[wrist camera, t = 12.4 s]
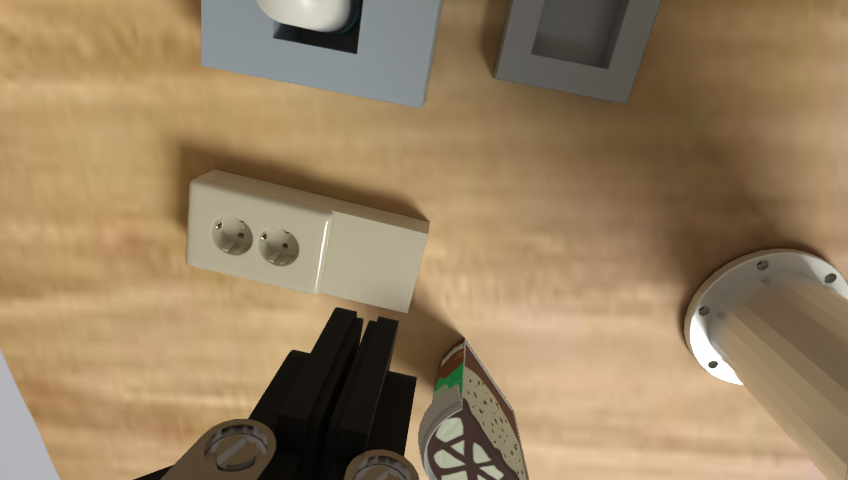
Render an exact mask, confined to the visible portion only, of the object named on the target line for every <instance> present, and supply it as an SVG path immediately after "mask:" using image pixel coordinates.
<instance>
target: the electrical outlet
mask: <svg viewBox="0 0 848 480" xmlns="http://www.w3.org/2000/svg"><path fill="white" fill-rule="evenodd" d="M429 225H430V222H428V221H424V220H420V219H416V218H412V217H408V216H404V215H400V214H395V213H391V212H387V211H383V210H379V209H375V208H371V207H367V206H363V205H359V204H355V203H351V202H347V201H343V200H339V199H335V198H330V197H326V196H322V195H318V194H314V193H310V192H306V191H302V190H298V189H294V188H290V187H286V186H282V185H278V184H274V183H270V182H266V181H261V180H257V179H253V178H249V177H245V176H241V175H237V174H233V173H229V172H225V171H221V170H217V169H214V170H211V171H209V172H207V173H205V174H203V175H201V176H199V177H197V178H195V179H193V180H191V182H190V185H189V205H188V225H187V245H186V263H187V264H188V265H189V266H193V267H197V268H201V269H206V270H210V271H214V272H218V273H222V274H227V275H231V276H235V277H239V278H243V279H248V280H252V281H256V282H260V283H264V284H268V285H273V286H277V287H281V288H285V289H289V290H294V291H298V292H302V293H306V294H310V295H317V294H318V293H323V294H328V295H332V296H336V297H340V298H344V299H349V300H353V301H357V302H361V303H365V304H369V305H374V306H378V307H382V308H386V309H390V310H395V311H399V312H403V313H408V309H409V306H410V302H411V298H412V294H413V290H414V286H415V283H416V279H417V275H418V271H419V267H420V264H421V260H422V256H423V252H424V248H425V245H426V241H427V237H428V232H429Z"/></svg>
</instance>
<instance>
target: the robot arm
mask: <svg viewBox="0 0 848 480" xmlns="http://www.w3.org/2000/svg"><path fill="white" fill-rule="evenodd" d="M398 324H399V321H397V320H392V319H388V318H383V317H378V320H377V322H376V321H371V320H369V322H368V325H367V328H366V330H365V333H364V335H363V338H362V340H361V343H360V338H361V332H362V327H363V319H362V318H357V312H356V311H352V310H347V309H342V308H338V307H336V308H335V310H334V311H333V313H332V315H331V317H330V319H329V320H328V322H327V324H326V326H325V328H324V330H323V331H322V333H321V335H320V337H319V339H318V340H317V342H316V344H315V346H314V348H313V350H312V351H311V353H306V352H301V351H297V350H292V351H291V352H290V353H289V354H288V356H287V357H286V359H285V361H284V362H283V364H282V365H281V367H280V369H279V370H278V372H277V373H276V375H275V377H274V378H273V380H272V381H271V383H270V385H269V386H268V388H267V389H266V391H265V393H264V394H263V396H262V397H261V399H260V401H259V402H258V404H257V405H256V407H255V409H254V410H253V412H252V413H251V415H250V417H249V418H248V419H234V420H230V421H225V422H222V423H220V424H218V425H216V426H214V427H212V428H211V429H210V430H208V431H207V432H206V433H205V434H203V435H202V436H201V437H200V438H199V439H198V441H197V442H196V443H195V444H194V445H193V446H192V447H191V448H190V449H189V450H188V451H187V452H186V453H185V454H184V455H183V456H182V457H181V458H180V459H179V460H178V461H177V462H176V463H175V464H174V465H172V466H169V467H166V468H164V469H161V470H158V471H156V472H153V473H150V474H148V475H145V476H142V477H140V478H137V479H134V480H419V477H418V473H417V471H416V470H415V468H414V466H413V465H412V464H411V463H410V462H409V461H408V460H407V459H406V458H405V457H404V453H405V447H406V441H407V434H408V428H409V422H410V416H411V410H412V404H413V398H414V392H415V386H416V380H417V377H414V376H409V375H405V374H400V373H396V372H391V371H389V368H390V363H391V358H392V353H393V349H394V344H395V339H396V334H397V329H398ZM684 334H685V340H686V344H687V346H688V348H689V350H690V352H691V354H692V355H693V356H694V358H695V359H696V360H697V362H698V363H699V364H700V365H701V366H702V367H703V368H704V369H705V370H706V371H707V372H709V373H710V374H712V375H714V376H715V377H717V378H719V379H722V380H724V381H727V382H730V383H735V384H741V385H744V386H745V387H746V389H747V390H748V391H749V392H750V393H751V394H752V395H753V396H754V398H755V399H756V400H757V401H758V402H759V403H760V404H761V405H762V406H763V408H764V409H765V410H766V411H767V412H768V413H769V414H770V415H771V417H772V418H773V419H774V420H775V421H776V422H777V423H778V424H779V426H780V427H781V428H782V429H783V430H784V431H785V432H786V433H787V434H788V436H789V437H790V438H791V439H792V440H793V441H794V442H795V443H796V445H797V446H798V447H799V448H800V449H801V450H802V451H803V452H804V454H805V455H806V456H807V457H808V458H809V459H810V460H811V461H812V462H813V464H814V465H815V466H816V467H817V468H818V469H819V470H820V471H821V473H822V474H823V475H824V476H825V477H826V478H827V479H828V480H848V283H847V281H846V280H845V278H844V277H843V275H842V274H841V273H840V272H839V271H838V270H837V269H836V268H835V267H834V266H833V265H832V264H830V263H828V262H826V261H825V260H823V259H821V258H819V257H817V256H815V255H812V254H810V253H808V252H805V251H800V250H795V249H768V250H762V251H757V252H754V253H751V254H747V255H744V256H742V257H740V258H738V259H735V260H733V261H731V262H729V263H727V264H726V265H724V266H723V267H722V268H720V269H719V270H717V271H716V272H714V273H713V274H712V275H711V276H710V277H709V278H708V279H707V280H706V281H705V282H704V283H703V284H702V285H701V287H700V288H699V289H698V290H697V292H696V293H695V294H694V296H693V298H692V300H691V302H690V304H689V306H688V309H687V312H686V316H685V321H684ZM359 344H360V346H359Z"/></svg>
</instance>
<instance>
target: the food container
mask: <svg viewBox="0 0 848 480" xmlns="http://www.w3.org/2000/svg"><path fill="white" fill-rule="evenodd" d="M418 444H419V449H420V454H421V459H422V464H423V468H424V470H425V472H426V475H427V476H428V478H429V480H529V476H528V472H527V467H526V463H525V459H524V454H523V450H522V445H521V441H520V436H519V432H518V427H517V423H516V418H515V414H514V410H513V409H512V407H511V406H510V404H509V403H508V401H507V400H506V398H505V397H504V395H503V394H502V392H501V391H500V390H499V388H498V387H497V385H496V384H495V382H494V381H493V379H492V378H491V376H490V375H489V373H488V372H487V370H486V369H485V367H484V366H483V364H482V363H481V361H480V360H479V358H478V357H477V355H476V354H475V352H474V351H473V349H472V348H471V346H470V345H469V344H468V342H467V341H466V339H465V338H464V339H462V340H461V341H459V342H457V343H455V344H454V345H453V346H452V347H451V348H450V349H449V350H448V351H447V352H446V353H445V354H444V356H443V358H442V360H441V362H440V365H439V367H438V371H437V377H436V383H435V388H434V394H433V400H432V404H431V405H430V406H429V408H428V409H427V411H426V412H425V414H424V416H423V418H422V421H421V423H420V428H419V433H418Z"/></svg>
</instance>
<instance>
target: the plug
mask: <svg viewBox="0 0 848 480" xmlns="http://www.w3.org/2000/svg"><path fill="white" fill-rule="evenodd" d="M256 1H257V3H258V5H259V6H260V8H261V9H262V10H263V11H264V12H265V13H266V14H267V15H268V16H269V17H271V18H272V19H274V20H276V21H278V22H281V23H284V24H289V25H293V26H297V27H302V28H306V29H310V30H315V31H319V32H323V33H328V34H332V35H345V34H348V33H350V32H351V31H353V30H354V29H355V28H356V27H357V25H358V24H359V22H360V20H361V16H362V7H363V4H362V0H256Z"/></svg>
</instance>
